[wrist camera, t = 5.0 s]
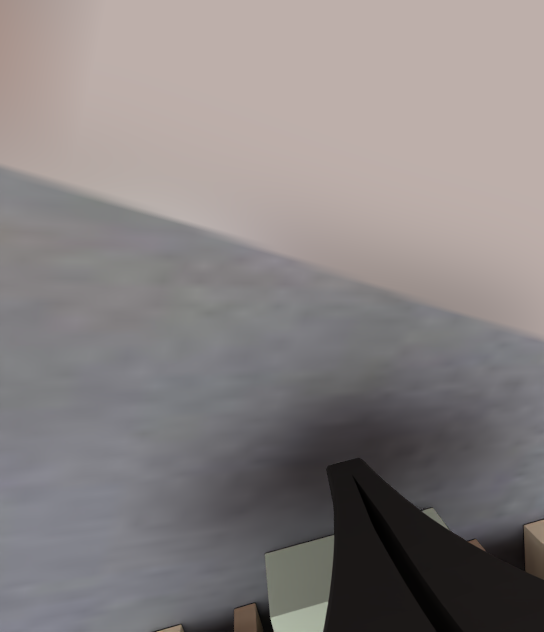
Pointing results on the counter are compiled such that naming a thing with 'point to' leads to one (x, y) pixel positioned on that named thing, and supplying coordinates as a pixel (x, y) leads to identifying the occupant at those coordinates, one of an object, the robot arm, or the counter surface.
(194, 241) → the counter surface
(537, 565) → the overhang shelf
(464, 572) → the robot arm
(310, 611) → the pale green slab
